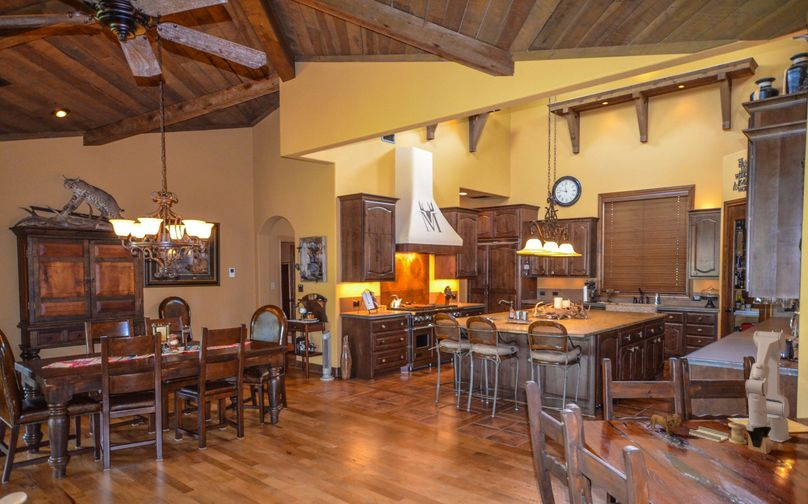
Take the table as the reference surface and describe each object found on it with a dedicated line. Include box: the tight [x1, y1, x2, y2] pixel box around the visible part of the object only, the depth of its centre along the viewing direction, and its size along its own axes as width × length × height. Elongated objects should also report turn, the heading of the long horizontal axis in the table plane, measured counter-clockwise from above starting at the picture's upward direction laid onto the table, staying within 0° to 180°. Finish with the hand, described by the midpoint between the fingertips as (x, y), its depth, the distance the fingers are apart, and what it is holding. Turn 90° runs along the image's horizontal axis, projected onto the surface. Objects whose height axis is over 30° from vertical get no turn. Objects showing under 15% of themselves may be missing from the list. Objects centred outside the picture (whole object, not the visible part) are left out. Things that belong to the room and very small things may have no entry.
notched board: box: [688, 425, 731, 443], centre depth 206 cm, size 9×12×2 cm
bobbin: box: [728, 421, 748, 446], centre depth 198 cm, size 6×6×7 cm
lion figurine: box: [646, 413, 682, 437], centre depth 212 cm, size 15×5×9 cm, turn 36°
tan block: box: [747, 433, 771, 455], centre depth 189 cm, size 4×6×6 cm, turn 31°
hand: (759, 446), depth 189 cm, fingers closed on tan block, 3 cm apart
